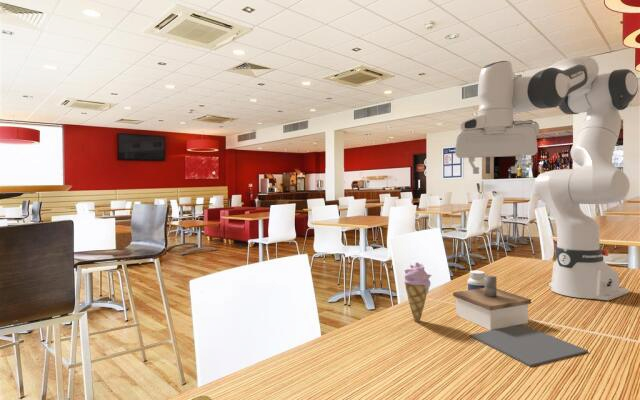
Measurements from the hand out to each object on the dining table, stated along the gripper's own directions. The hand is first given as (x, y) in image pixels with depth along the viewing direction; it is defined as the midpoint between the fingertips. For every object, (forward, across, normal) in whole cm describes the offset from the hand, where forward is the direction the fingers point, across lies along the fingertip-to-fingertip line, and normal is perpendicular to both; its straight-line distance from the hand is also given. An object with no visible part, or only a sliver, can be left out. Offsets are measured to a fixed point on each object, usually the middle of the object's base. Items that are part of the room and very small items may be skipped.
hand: (494, 173), depth 104 cm
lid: (+33, 0, +7) cm, 34 cm away
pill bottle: (+38, +4, -4) cm, 38 cm away
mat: (+38, -8, +20) cm, 44 cm away
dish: (+38, 0, +7) cm, 38 cm away
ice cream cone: (+38, +16, +16) cm, 45 cm away
